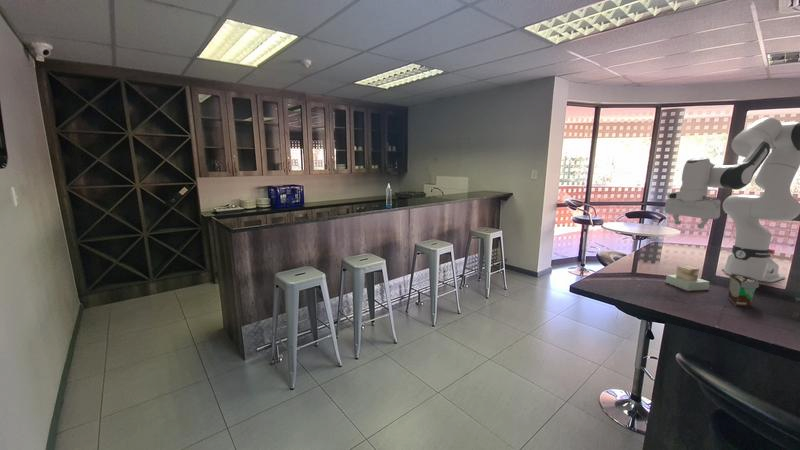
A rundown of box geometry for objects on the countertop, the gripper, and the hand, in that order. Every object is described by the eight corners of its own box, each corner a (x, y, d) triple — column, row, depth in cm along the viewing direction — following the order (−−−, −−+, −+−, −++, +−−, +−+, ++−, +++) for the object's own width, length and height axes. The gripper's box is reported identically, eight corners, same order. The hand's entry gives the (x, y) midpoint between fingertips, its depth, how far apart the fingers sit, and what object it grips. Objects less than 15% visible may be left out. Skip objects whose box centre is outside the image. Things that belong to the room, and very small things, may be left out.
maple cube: (684, 276, 143) (686, 265, 142) (697, 279, 138) (699, 268, 137) (676, 276, 142) (677, 266, 141) (688, 280, 137) (689, 269, 136)
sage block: (684, 282, 146) (686, 274, 145) (707, 290, 136) (709, 281, 135) (665, 283, 145) (666, 275, 144) (687, 291, 135) (689, 282, 134)
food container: (760, 310, 116) (766, 285, 114) (737, 307, 119) (742, 281, 117) (747, 299, 126) (752, 275, 124) (726, 296, 129) (730, 272, 127)
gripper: (726, 197, 130) (721, 229, 133) (674, 193, 150) (670, 222, 152) (715, 198, 129) (710, 231, 131) (663, 194, 148) (660, 223, 151)
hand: (688, 226), depth 142 cm, fingers open, 8 cm apart
